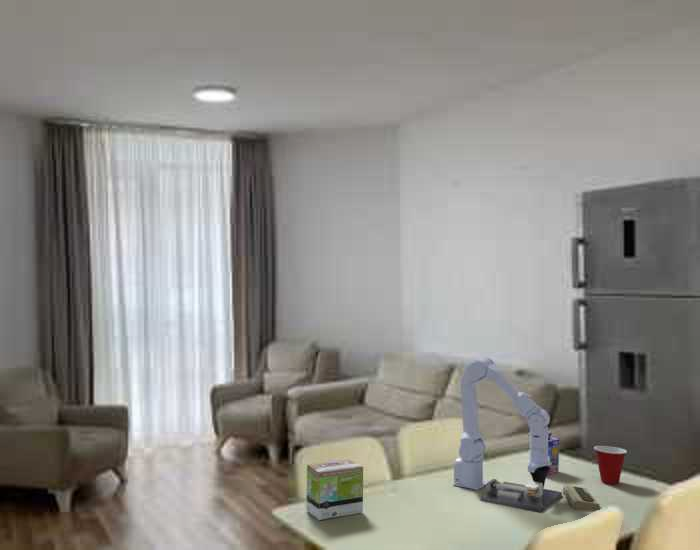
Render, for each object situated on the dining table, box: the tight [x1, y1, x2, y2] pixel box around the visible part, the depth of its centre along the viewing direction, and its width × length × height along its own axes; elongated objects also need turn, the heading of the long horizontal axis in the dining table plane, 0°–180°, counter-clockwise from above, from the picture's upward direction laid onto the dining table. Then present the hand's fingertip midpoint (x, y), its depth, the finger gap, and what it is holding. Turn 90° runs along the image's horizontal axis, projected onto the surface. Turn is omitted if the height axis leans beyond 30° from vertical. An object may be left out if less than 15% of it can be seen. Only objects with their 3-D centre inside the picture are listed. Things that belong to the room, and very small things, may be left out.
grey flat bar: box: [492, 480, 539, 494], centre depth 230 cm, size 15×4×1 cm, turn 54°
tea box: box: [305, 458, 364, 521], centre depth 219 cm, size 15×10×15 cm, turn 117°
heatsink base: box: [480, 478, 563, 513], centre depth 231 cm, size 20×19×4 cm
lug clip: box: [524, 480, 544, 497], centre depth 229 cm, size 4×6×4 cm, turn 144°
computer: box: [562, 485, 601, 511], centre depth 228 cm, size 16×8×3 cm, turn 175°
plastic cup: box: [593, 445, 628, 486], centre depth 247 cm, size 11×11×12 cm
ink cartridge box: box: [546, 432, 560, 475], centre depth 259 cm, size 10×6×14 cm, turn 125°
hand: (539, 489), depth 233 cm, fingers closed
